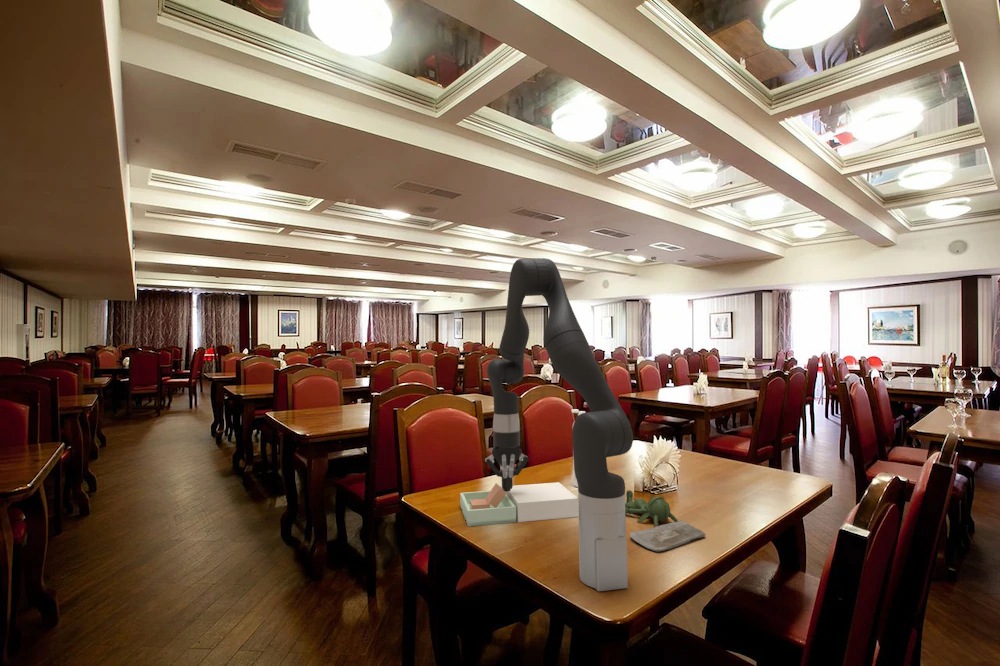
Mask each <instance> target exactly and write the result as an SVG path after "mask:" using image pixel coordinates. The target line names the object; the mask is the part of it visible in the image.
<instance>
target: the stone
mask: <svg viewBox="0 0 1000 666" xmlns="http://www.w3.org/2000/svg"><path fill="white" fill-rule="evenodd" d="M706 535H707V534H706V533H705V532H704V531H702V530H701V529H699V528H696V527H695V526H694V525H691V524H690V523H688V522H687V521H686V522H685V521H684V520H678V522H674V521H673V522H670V523H669V522H668V523H666V524H665V523H664V524H661V525H658V526H657V527H655V526H654V527H651V528H650V527H649V528H646V529H641V530H636V531H632V532H630V533H629V537H630V538H631V539H632V540H633V541H634V542H636V543H638V544H639V545H641V546H643V547H644V548H646V549H648V550H650V551H653V552H664V551H668V550H670V549H673V548H676V547H680V546H682V545H684V544H687V543H688V542H690V541H692V540H696V539H700V538H703V537H705V536H706Z"/></svg>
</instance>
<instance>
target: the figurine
mask: <svg viewBox="0 0 1000 666" xmlns="http://www.w3.org/2000/svg"><path fill="white" fill-rule="evenodd" d="M633 496H634V492H633V491H632V490H626V491H625V497H626V499H625V514H628V515H631V514H642V515H641V516H640V517H639V519H638V520H637V521H636V523H637V524H639V523H641V522H644V521H646V520H647V519H648V518H649V516H650V517H651V518H652V519H653V525H654V527H657V526H659V522H661V523H664V522H665V521H666V519H668V518H670V519H671V520H672V521H673V522H678V521H679V520H678V519H677V517H676V516H675V515H674V514H672V512H671V507H670V504H669V502H667V501H666V500H665V498H664V497H662V496H656V497H655V495H653V496H652V497H650V499H649V500H648V502H647V501H646V500H644V499H643V498H637V499H636V498H634V497H633Z"/></svg>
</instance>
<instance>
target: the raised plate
mask: <svg viewBox="0 0 1000 666" xmlns="http://www.w3.org/2000/svg"><path fill="white" fill-rule="evenodd" d="M506 494H507V495H508V497H509V498H510V499H511V501H512V502H513V504H514V505H515V506H516V522H517V523H522V522H523V523H524V522H534V521H544V520H545V521H546V520H548V521H549V520H557V519H568V518H579V513H578V496H576V495H575V494H574V493H572V492H571V491H570V490H569V489H567V487H565V486H564V485H563V484H561V482H558V481H557V482H546V483H544V482H543V483H531V484H518V485H515V484H514V485H513V487H512V489H510V491H506Z"/></svg>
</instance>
